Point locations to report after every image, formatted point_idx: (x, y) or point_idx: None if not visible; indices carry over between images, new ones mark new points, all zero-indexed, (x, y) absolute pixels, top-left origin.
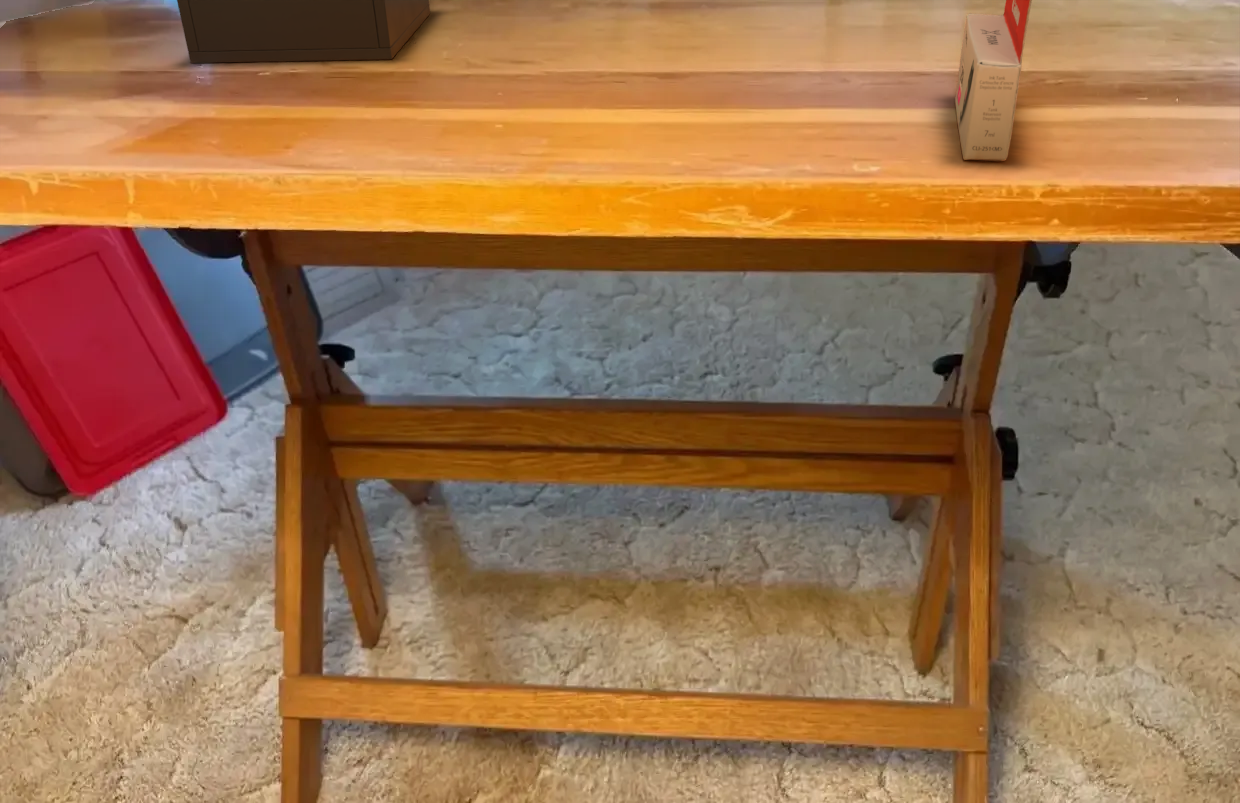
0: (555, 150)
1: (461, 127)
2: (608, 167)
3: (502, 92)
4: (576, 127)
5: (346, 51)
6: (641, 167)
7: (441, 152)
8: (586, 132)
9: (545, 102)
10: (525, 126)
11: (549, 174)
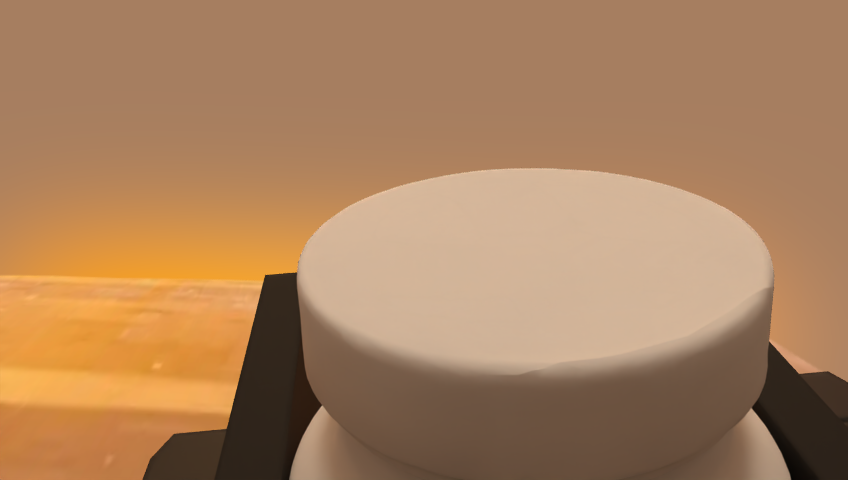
0: (124, 318)
1: (202, 364)
2: (94, 293)
3: (101, 466)
4: (70, 360)
5: None
6: (66, 292)
7: (240, 317)
8: (67, 349)
9: (60, 427)
10: (126, 364)
11: (153, 284)
